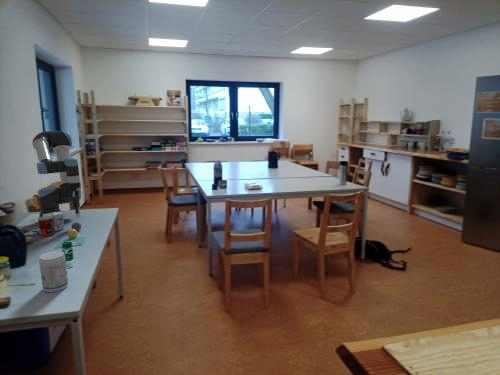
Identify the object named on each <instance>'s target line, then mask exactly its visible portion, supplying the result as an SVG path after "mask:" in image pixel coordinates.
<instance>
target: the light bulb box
mask: <svg viewBox="0 0 500 375" xmlns="http://www.w3.org/2000/svg"><path fill="white" fill-rule="evenodd" d="M61 212H62V211H61ZM61 212H54V213H49V214H43V216H52V217H53V223H54V230H55V232H58V231H63V230H65V222H64V219H63V217H64V213H63V212H62V213H61Z"/></svg>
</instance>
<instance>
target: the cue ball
mask: <svg viewBox="0 0 500 375" xmlns="http://www.w3.org/2000/svg"><path fill="white" fill-rule="evenodd" d="M71 229H75V230H76V231H77V232H79V231H80V230H81V229H82V225H81V223H80V222H78V221H77V222H73V223H72V224H71Z"/></svg>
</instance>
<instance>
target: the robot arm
mask: <svg viewBox="0 0 500 375" xmlns="http://www.w3.org/2000/svg"><path fill="white" fill-rule="evenodd" d="M32 146H33V149H34V150H35V152H36V157H37V159H38V162H36V170H37V174H39V175H46V174H47V175H48V174H56V173H59V177H60V184H59V187H57V186H56V185H50V186H45V187H42V188H40V189H39V190H38V191H37V195H38V196H37V198H38V202H39V210H40V211H39V217H38V218H40V217H43V214H49V213H54V212H61V213H63V212H62V210H61V208H60V205H64V204H72V205H73V208H72V209H73V210H74V214H75V219H81V217H82V216H81V203H80V201H81V199H82V188H81V187H82V183H81V176H80V169H79V161H78V158H77V157H71V155H70V150H71V149H72V148H71V147H72V146H73V140H72V137H71V134H70V132H69V131H68V130H52V131H51V130H49V131H47V130H46V131H41V132H39V133H38V134H36V135H35V136H34V137H33V139H32ZM50 148H52V150H53V151H54V153H55V156H56V160H54V161H53V158H52V156H51V153H50ZM63 220H64V216H63Z"/></svg>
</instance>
